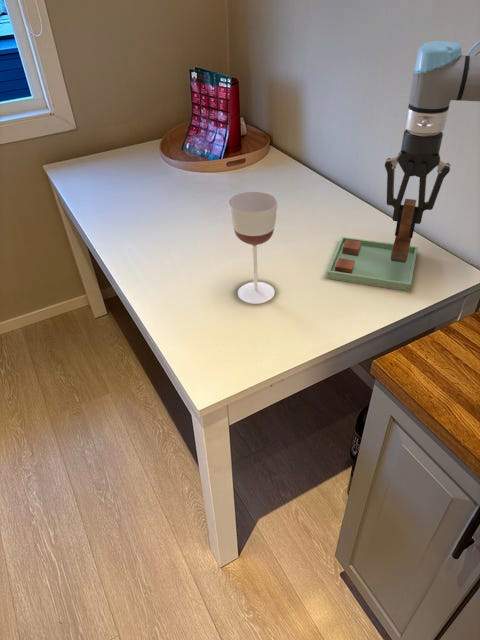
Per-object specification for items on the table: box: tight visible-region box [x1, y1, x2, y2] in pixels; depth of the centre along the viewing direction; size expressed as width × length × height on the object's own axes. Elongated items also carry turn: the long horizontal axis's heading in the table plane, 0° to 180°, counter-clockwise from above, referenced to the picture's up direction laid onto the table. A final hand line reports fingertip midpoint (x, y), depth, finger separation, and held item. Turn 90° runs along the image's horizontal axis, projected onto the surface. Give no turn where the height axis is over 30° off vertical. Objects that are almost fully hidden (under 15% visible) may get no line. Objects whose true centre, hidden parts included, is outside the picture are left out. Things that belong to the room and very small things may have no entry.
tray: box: [326, 236, 419, 293], centre depth 119 cm, size 19×17×2 cm
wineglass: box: [228, 191, 278, 305], centre depth 106 cm, size 9×10×23 cm
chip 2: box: [335, 258, 355, 274], centre depth 118 cm, size 4×4×2 cm
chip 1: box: [342, 240, 361, 256], centre depth 124 cm, size 4×4×2 cm
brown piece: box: [391, 198, 417, 263], centre depth 111 cm, size 4×14×12 cm, turn 159°
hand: (404, 234), depth 112 cm, fingers closed on brown piece, 2 cm apart
